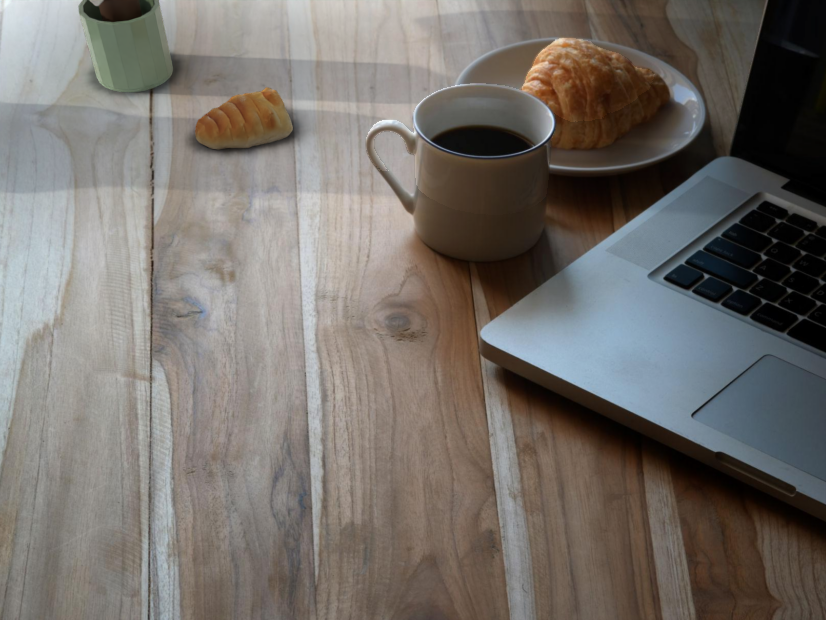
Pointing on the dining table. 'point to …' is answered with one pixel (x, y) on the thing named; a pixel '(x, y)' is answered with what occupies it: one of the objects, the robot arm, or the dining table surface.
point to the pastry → (245, 121)
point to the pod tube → (120, 10)
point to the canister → (128, 48)
